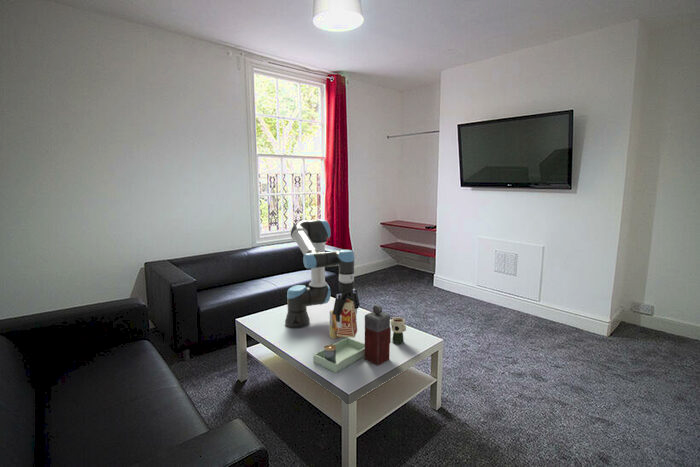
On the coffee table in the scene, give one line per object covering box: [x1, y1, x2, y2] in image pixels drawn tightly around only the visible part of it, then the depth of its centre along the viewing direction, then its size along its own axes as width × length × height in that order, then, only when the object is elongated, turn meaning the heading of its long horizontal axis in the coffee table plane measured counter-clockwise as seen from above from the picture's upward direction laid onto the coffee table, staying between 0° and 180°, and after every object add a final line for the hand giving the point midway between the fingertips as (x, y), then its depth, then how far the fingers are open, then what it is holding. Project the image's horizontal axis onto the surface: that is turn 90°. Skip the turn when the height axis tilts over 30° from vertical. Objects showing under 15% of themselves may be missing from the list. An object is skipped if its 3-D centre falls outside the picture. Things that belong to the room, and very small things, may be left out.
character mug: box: [390, 316, 407, 345], centre depth 189 cm, size 11×7×13 cm, turn 39°
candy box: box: [329, 310, 343, 340], centre depth 196 cm, size 9×4×15 cm, turn 116°
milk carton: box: [337, 299, 358, 339], centre depth 173 cm, size 9×9×20 cm
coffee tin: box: [324, 343, 336, 364], centre depth 166 cm, size 6×6×8 cm
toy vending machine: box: [364, 304, 392, 366], centre depth 170 cm, size 9×11×28 cm
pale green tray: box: [312, 337, 365, 374], centre depth 173 cm, size 15×25×4 cm, turn 139°
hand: (346, 323), depth 173 cm, fingers closed on milk carton, 10 cm apart
